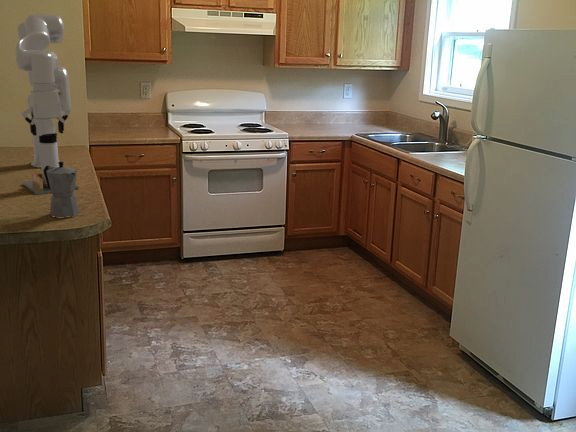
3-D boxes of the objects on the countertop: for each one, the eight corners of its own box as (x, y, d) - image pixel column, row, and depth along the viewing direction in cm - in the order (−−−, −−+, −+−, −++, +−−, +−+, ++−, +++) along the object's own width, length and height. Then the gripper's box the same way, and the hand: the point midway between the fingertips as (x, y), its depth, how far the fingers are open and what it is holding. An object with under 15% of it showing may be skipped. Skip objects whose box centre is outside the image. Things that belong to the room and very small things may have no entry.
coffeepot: (89, 215, 210) (86, 162, 205) (66, 221, 203) (62, 167, 197) (59, 206, 218) (55, 155, 213) (35, 212, 211) (30, 159, 205)
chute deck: (22, 184, 244) (21, 172, 243) (64, 179, 254) (63, 167, 252) (35, 194, 231) (34, 181, 230) (78, 189, 241) (77, 176, 239)
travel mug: (55, 187, 238) (51, 135, 232) (39, 186, 239) (35, 133, 233) (64, 184, 243) (60, 132, 238) (48, 182, 245) (44, 131, 239)
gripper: (64, 85, 238) (67, 130, 243) (16, 87, 228) (20, 134, 233) (71, 87, 232) (74, 133, 238) (22, 89, 222) (26, 137, 228)
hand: (47, 133), depth 235 cm, fingers open, 9 cm apart
